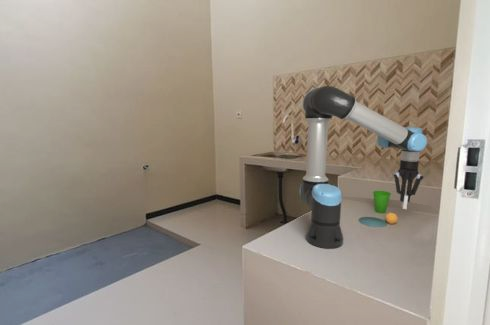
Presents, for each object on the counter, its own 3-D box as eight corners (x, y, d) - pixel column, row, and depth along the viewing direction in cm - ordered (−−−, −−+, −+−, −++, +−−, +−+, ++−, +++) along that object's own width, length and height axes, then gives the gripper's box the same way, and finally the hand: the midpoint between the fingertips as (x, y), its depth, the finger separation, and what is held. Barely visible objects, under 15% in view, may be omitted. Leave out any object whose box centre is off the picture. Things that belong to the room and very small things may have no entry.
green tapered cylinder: (391, 215, 147) (393, 195, 146) (373, 214, 149) (375, 194, 147) (386, 209, 156) (388, 191, 154) (369, 208, 158) (371, 190, 156)
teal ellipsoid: (360, 225, 133) (360, 225, 133) (357, 216, 146) (357, 215, 146) (390, 228, 130) (390, 227, 130) (383, 218, 143) (383, 218, 143)
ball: (400, 224, 133) (388, 226, 134) (396, 219, 138) (384, 221, 139) (398, 214, 132) (386, 216, 133) (394, 209, 137) (382, 211, 138)
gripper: (422, 159, 131) (416, 207, 135) (392, 158, 135) (387, 204, 138) (428, 162, 124) (421, 212, 128) (396, 160, 127) (391, 209, 131)
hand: (403, 208), depth 133 cm, fingers closed
